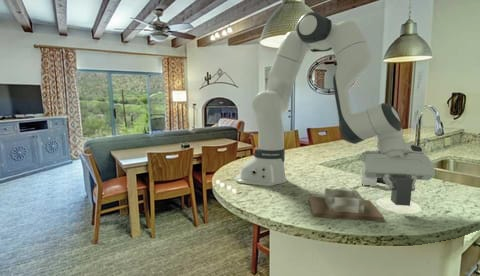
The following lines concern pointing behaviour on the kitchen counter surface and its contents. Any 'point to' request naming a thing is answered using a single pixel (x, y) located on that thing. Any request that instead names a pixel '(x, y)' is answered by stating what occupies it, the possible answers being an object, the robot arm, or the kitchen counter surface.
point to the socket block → (344, 206)
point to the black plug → (401, 190)
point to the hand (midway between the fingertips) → (402, 189)
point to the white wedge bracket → (368, 180)
